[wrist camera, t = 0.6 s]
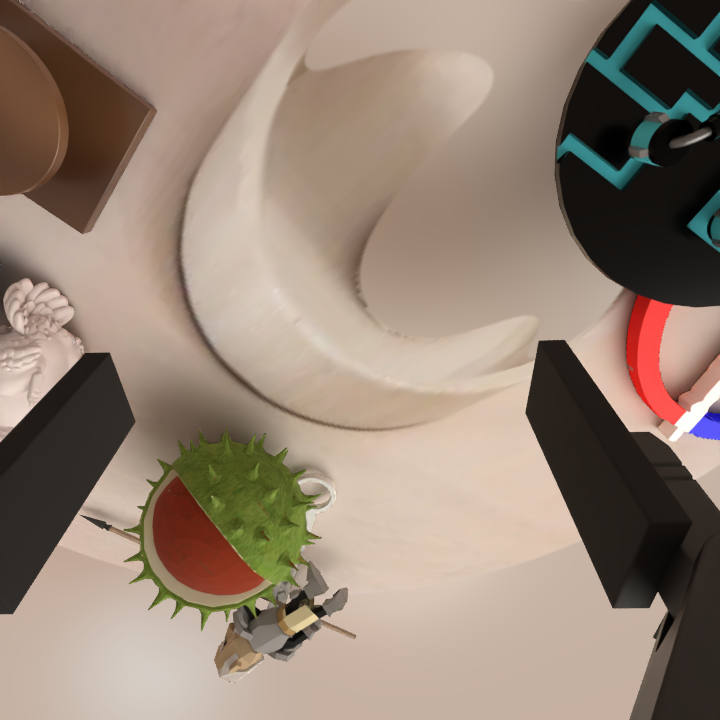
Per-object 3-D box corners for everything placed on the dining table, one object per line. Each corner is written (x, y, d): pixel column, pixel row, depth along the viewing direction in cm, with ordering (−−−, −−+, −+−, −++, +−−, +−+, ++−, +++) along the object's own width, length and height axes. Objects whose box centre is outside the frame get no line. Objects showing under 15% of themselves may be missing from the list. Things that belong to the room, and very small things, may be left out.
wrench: (284, 650, 54) (242, 639, 54) (285, 645, 54) (244, 633, 54) (344, 486, 43) (292, 471, 43) (345, 481, 44) (294, 466, 44)
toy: (192, 421, 44) (85, 506, 47) (169, 449, 39) (50, 542, 42) (381, 617, 51) (276, 680, 54) (382, 663, 45) (266, 730, 49)
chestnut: (349, 562, 30) (173, 722, 30) (368, 510, 44) (249, 619, 44) (197, 383, 32) (34, 535, 32) (263, 389, 46) (149, 494, 46)
